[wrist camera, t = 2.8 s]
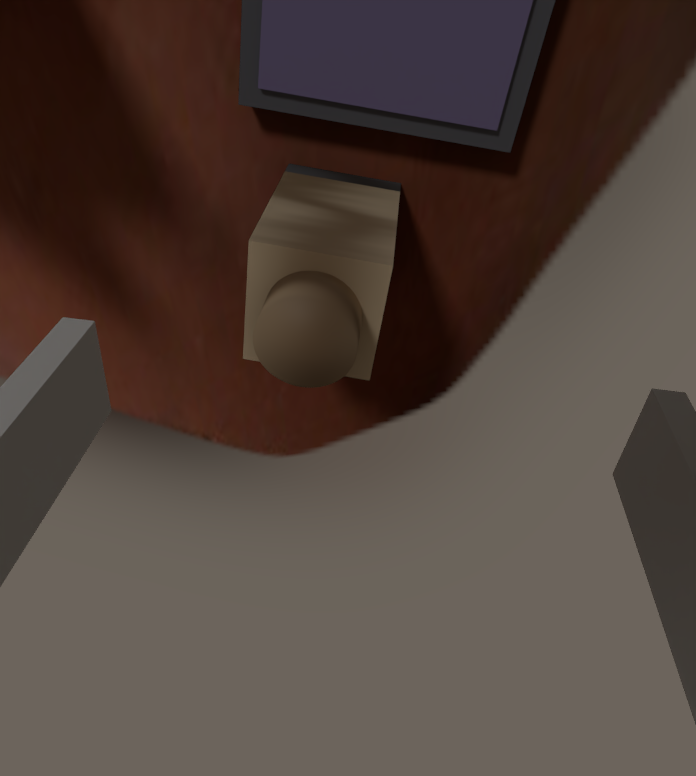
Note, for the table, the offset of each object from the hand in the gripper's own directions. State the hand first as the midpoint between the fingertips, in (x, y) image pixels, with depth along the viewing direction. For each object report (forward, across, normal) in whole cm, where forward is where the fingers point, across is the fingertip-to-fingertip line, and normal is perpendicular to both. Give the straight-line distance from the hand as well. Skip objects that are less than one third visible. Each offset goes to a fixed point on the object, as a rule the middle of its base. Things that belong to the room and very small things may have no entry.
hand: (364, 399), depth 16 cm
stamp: (+16, -2, -2) cm, 16 cm away
